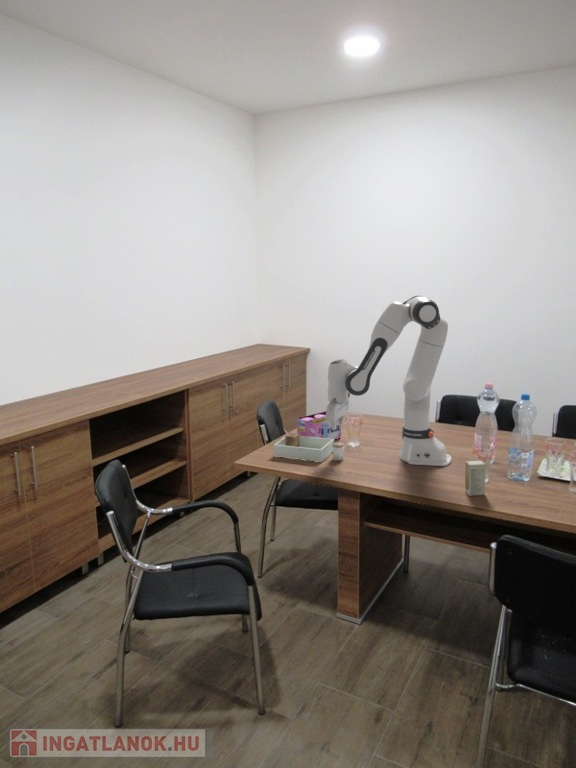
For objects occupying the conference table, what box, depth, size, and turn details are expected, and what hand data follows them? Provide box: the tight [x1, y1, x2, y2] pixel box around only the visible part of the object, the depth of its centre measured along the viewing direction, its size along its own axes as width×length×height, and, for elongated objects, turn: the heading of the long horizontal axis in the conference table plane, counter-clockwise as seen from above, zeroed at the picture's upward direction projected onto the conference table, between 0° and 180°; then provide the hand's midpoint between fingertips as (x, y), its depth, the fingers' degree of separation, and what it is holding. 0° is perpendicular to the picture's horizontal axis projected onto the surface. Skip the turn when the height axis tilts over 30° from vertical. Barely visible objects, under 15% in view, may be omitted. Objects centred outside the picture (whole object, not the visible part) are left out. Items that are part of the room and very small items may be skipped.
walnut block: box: [284, 432, 300, 447], centre depth 250 cm, size 5×5×8 cm
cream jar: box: [332, 441, 345, 461], centre depth 240 cm, size 5×5×7 cm
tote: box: [273, 436, 335, 463], centre depth 248 cm, size 23×17×6 cm
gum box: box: [296, 410, 342, 440], centre depth 266 cm, size 24×8×14 cm, turn 127°
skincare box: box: [464, 460, 487, 497], centre depth 198 cm, size 6×4×12 cm
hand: (337, 426), depth 238 cm, fingers open, 8 cm apart
